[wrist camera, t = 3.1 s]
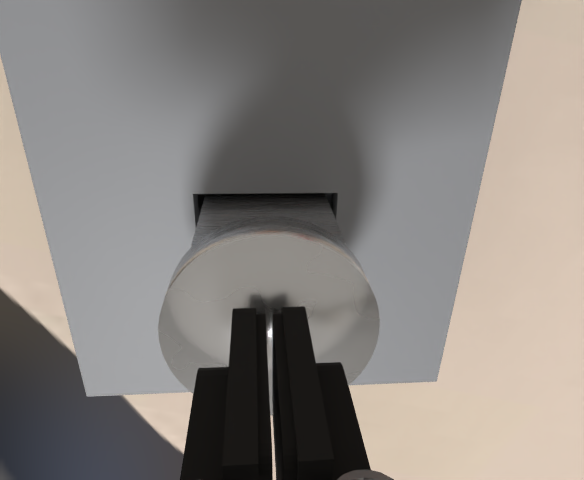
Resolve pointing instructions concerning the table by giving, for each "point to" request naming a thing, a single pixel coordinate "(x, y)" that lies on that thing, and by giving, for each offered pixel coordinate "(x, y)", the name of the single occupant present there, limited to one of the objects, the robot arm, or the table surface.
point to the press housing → (253, 150)
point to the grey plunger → (267, 283)
